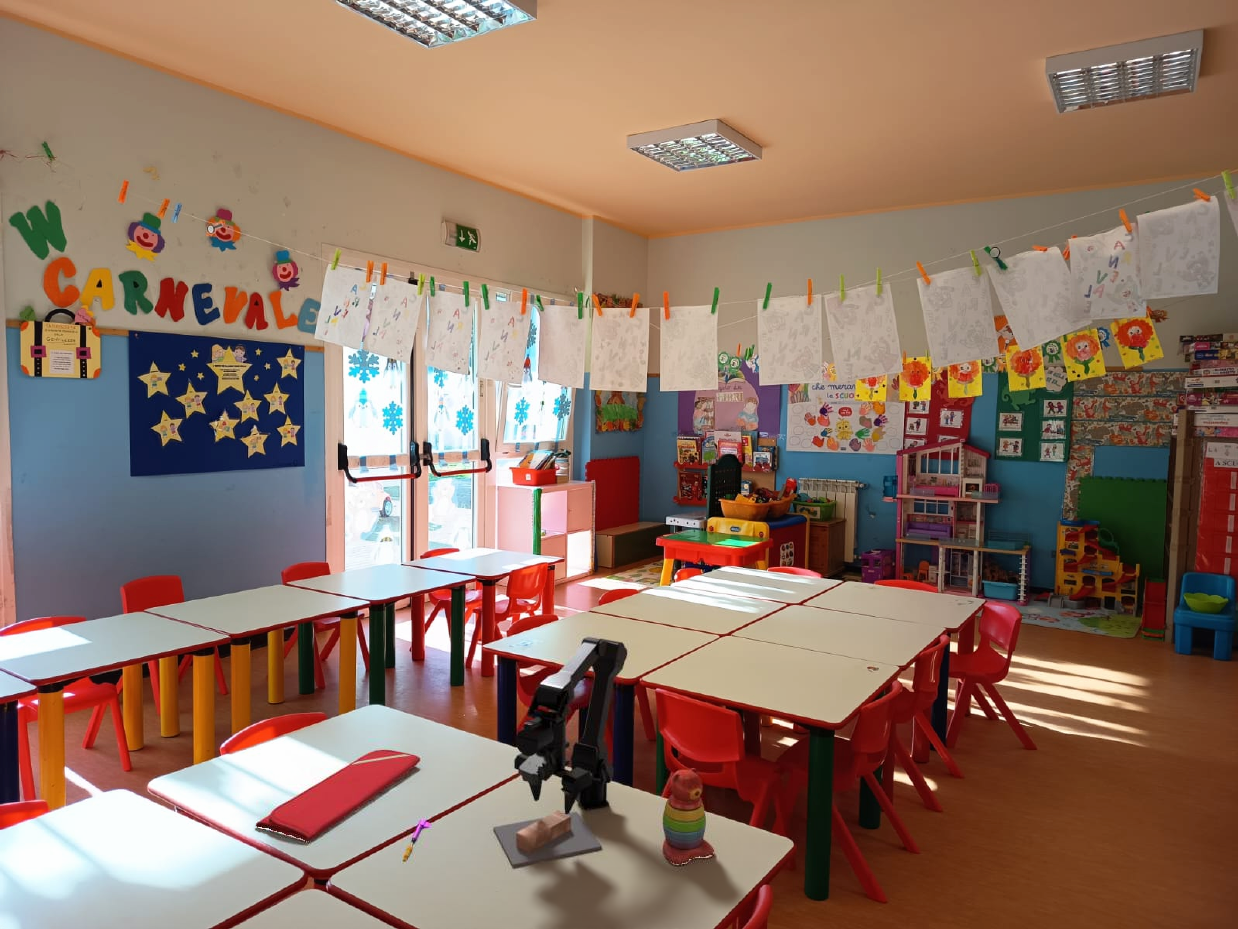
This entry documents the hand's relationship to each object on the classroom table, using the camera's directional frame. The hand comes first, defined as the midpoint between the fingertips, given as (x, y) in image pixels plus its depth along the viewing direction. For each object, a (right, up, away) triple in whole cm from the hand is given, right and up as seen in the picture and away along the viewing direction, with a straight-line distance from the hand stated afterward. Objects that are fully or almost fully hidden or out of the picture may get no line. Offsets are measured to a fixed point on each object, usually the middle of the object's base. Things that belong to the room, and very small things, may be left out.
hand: (551, 807), depth 184 cm
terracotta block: (+3, -5, +4) cm, 6 cm away
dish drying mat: (-52, -5, +18) cm, 55 cm away
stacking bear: (+29, -8, -4) cm, 30 cm away
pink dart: (-29, -7, -2) cm, 30 cm away
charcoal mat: (-1, -7, -1) cm, 7 cm away
